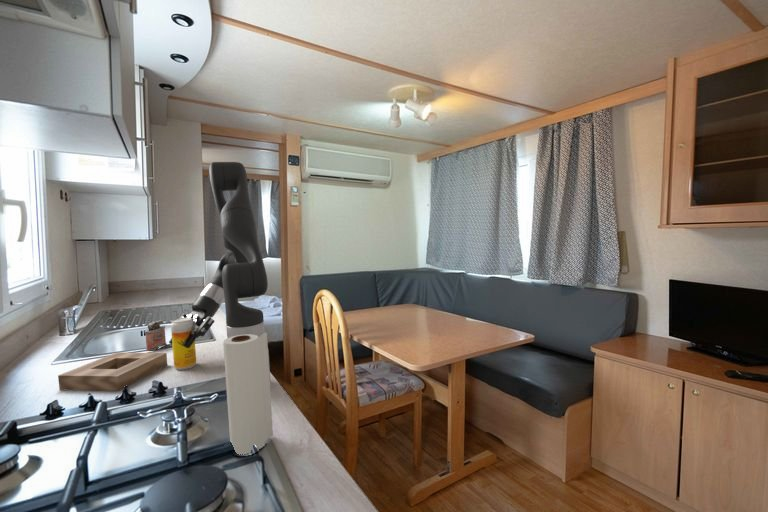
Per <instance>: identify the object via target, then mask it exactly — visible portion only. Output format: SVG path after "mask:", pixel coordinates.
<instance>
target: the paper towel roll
mask: <svg viewBox="0 0 768 512" xmlns="http://www.w3.org/2000/svg"><path fill="white" fill-rule="evenodd" d="M222 342H223V343H222V345H223V357H224V371H225V386H226V401H227V416H228V431H229V432H228V433H229V443H230V442H231V443H232V445H233V447H234V450H235V452H236V453H237V454H239V455H240V454H241V455H242V454H243V455H244V454H247V453H250V452H251V450H252V447H253V445H254V444H255V445H256V446H257V447H260V446H261V445H262V444H263V443H264V442H265V441H266V440H267V439H268V438H269V439H271V437H272V436H274V433H273V432H274V431H273V414H272V397H271V395H272V394H271V377H270V378H269V367H270V360H269V361H268V350H269V348H268V332H264V334H262V335H261V336H260V337H259V338H258V336H257V335H252V334H244V335H237V336H233V337H230V338H227V337H226V339H224V340H223V341H222Z"/></svg>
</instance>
